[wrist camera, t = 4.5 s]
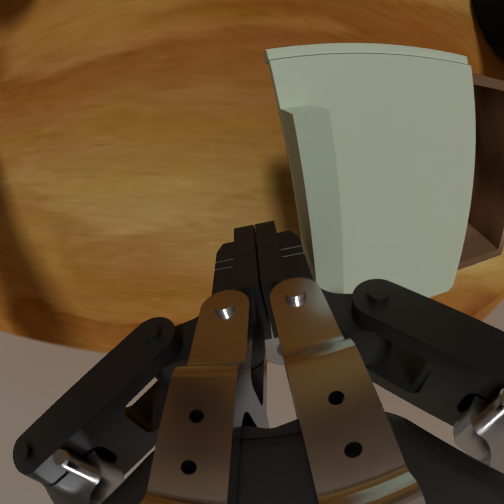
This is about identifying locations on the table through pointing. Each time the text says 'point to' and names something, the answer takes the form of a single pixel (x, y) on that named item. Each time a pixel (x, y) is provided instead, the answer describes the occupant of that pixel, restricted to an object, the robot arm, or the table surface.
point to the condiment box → (486, 175)
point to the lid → (378, 160)
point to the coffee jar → (492, 22)
